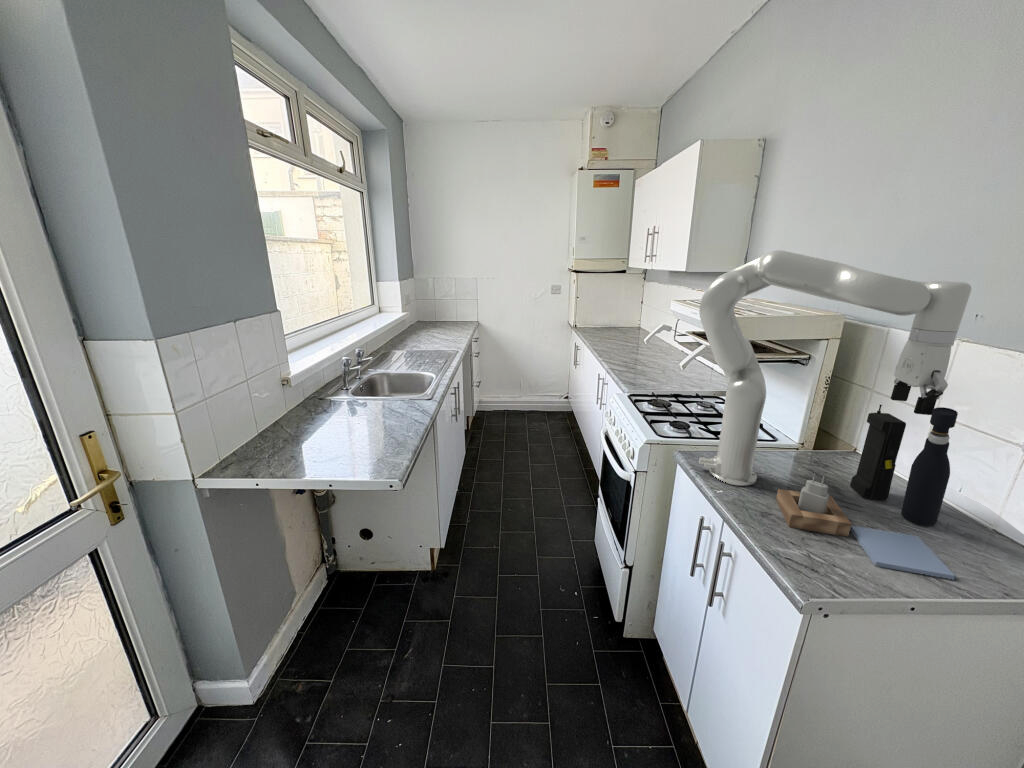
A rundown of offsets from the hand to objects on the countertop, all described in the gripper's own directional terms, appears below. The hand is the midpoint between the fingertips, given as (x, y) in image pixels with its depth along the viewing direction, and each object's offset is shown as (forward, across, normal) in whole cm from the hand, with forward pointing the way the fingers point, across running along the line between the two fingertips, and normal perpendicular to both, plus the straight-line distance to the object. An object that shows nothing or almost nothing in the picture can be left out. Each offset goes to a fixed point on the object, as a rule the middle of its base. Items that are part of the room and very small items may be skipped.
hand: (909, 406), depth 99 cm
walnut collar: (+28, +10, -19) cm, 35 cm away
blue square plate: (+28, +20, -5) cm, 35 cm away
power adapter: (+28, +10, -19) cm, 36 cm away
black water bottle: (+27, +4, +6) cm, 28 cm away
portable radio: (+28, -6, 0) cm, 29 cm away
